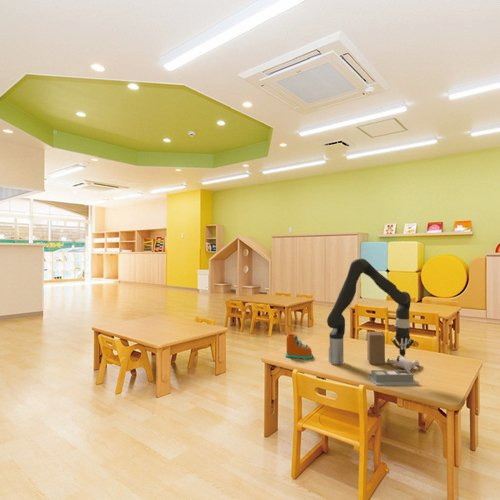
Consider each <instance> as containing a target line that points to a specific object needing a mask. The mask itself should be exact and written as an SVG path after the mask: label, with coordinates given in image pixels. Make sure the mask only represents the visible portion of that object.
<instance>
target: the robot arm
mask: <svg viewBox="0 0 500 500" xmlns="http://www.w3.org/2000/svg"><path fill="white" fill-rule="evenodd" d="M362 274H364V275H366V276H368V278H370V279H371V280H372V281H373V282H374V284H375V285H376V286H377V287H378V289H380V290H381V291H383V292H384V293H385V294H387V295H388V296H389V297H390V299H392V300H393V301H394V302H395V303H396V304H397V309H396V312H395V317H396V319H395V335H394V338H391V340H390V341H391V342H392V343H393V344H394V346H395V347H396V348H397V349H399V356H400V357H403V356H405V357H406V349H410V348H411V346H412V345H413V343H414V342H415V341H414V339H412V338H411V335H410V332H411V331H410V330H411V329H410V328H411V325H410V324H411V323H410V308H411V303H412V298H411V295H410V293H408V292H407V291H401V290H400V289H399V288H397V285H396V284H394V283H393V282H392V281H390V280H389V279H388V278H387V277H385V276H384V275H382V274H381V273H380V272H379V271H378V270H377V269H376V268H375V267H374V266H373V265H372V264H371V263H370V262H369V261H368V260H367V259H365V258H357V259H354V260H353V261H352V262H351V263H350V266H349V269H348V272H347V274H346V275H347V276H346V278H345V281H344V283H343V284H342V287H341V289H340V291H339V293H338V296H337V299H336V301H335V304H334V305H333V307H332V309H331V311H330V313H329V314H328V317H327V318H326V319H327V320H326V324H327V326H328V327H329V328H331V329H332V330H331V331H330V332H329V347H328V362H329V364H330V363H331V364H330V365H337V366H340V365H344V335H345V333H346V318H345V316H344V315H343V313H344V311H345V310H346V309H347V308H348V307H349V306H350V305H351V303H352V301H353V300H354V298H355V296H356V293H357V283H358V280H359V279H360V276H361V275H362Z"/></svg>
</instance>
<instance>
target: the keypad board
mask: <svg viewBox="0 0 500 500" xmlns="http://www.w3.org/2000/svg"><path fill="white" fill-rule="evenodd" d="M374 371H383V372H384V373H385V374H386V375H377V374H376V373H375V372H374ZM386 371H395V372H396V373H397V374H395V375H389V374H388V373H387V372H386ZM370 372H371V374H368V375H366V376H367V378H368V379H369V380H370V381H371V382H372V383H373V384H374V385H375V386H376V387H379V386H380V387H381V386H384V387H385V386H386V387H387V386H419V382H417V381H415V380H414V374H413V373H412V372H411V371H408V370H405V369H392V370H391V369H385V370H384V369H383V370H382V369H380V370H379V369H378V370H376V369H375V370H374V369H372V370H370ZM400 373H407V374H400Z"/></svg>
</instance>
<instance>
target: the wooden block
mask: <svg viewBox="0 0 500 500" xmlns="http://www.w3.org/2000/svg"><path fill="white" fill-rule="evenodd" d="M366 336H367V340H366V341H367V346H366V347H367V350H366V351H367V361H368V363H369V364H370V365H377V366H378V365H379V366H384V365H385V364H386V356H385V355H386V339H385V338H386V336H385V334H384V333H383V332H382V331H367V335H366Z"/></svg>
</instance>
